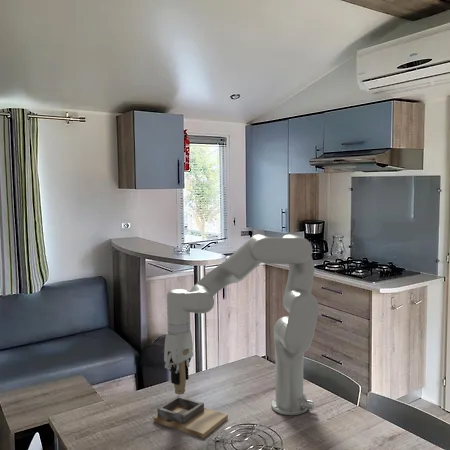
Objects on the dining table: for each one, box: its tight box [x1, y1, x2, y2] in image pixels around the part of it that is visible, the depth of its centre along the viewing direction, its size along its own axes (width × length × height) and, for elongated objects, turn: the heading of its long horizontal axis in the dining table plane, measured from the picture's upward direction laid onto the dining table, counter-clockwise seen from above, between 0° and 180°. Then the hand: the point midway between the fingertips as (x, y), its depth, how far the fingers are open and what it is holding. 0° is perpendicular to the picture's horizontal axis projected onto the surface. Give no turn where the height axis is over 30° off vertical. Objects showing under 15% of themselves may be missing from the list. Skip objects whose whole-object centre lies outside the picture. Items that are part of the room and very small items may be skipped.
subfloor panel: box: [152, 395, 229, 439], centre depth 154 cm, size 20×14×4 cm
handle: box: [173, 349, 189, 396], centre depth 156 cm, size 5×6×15 cm
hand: (179, 380), depth 156 cm, fingers closed on handle, 3 cm apart
